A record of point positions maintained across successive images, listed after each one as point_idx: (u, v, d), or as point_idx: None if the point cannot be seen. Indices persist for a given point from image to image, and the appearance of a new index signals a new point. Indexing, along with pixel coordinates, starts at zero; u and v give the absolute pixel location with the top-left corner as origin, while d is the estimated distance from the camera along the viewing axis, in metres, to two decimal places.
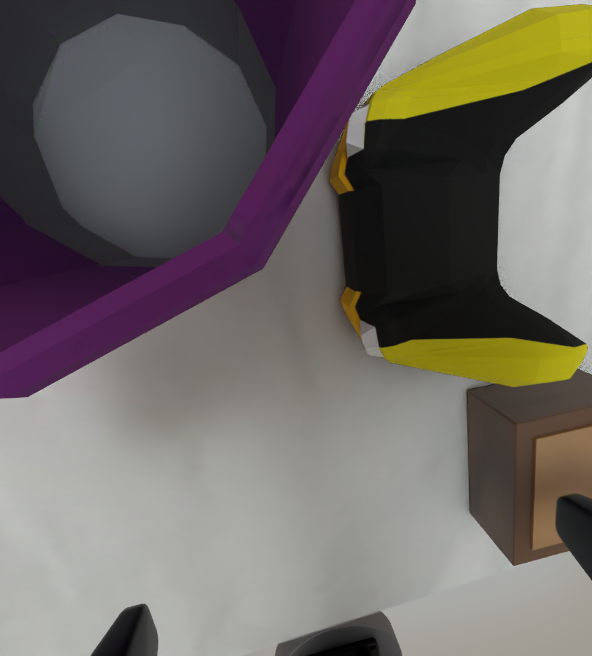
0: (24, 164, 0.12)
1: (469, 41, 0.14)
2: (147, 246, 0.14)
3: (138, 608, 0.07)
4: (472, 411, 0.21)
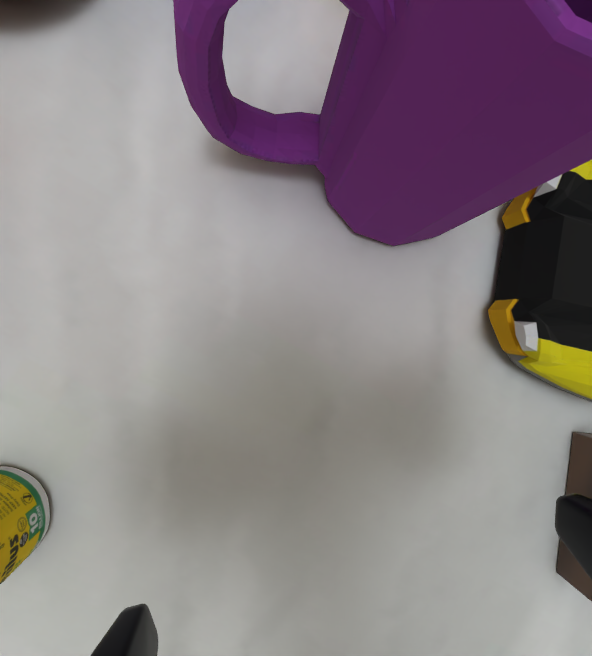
0: None
1: None
2: None
3: (138, 608, 0.07)
4: (578, 451, 0.22)
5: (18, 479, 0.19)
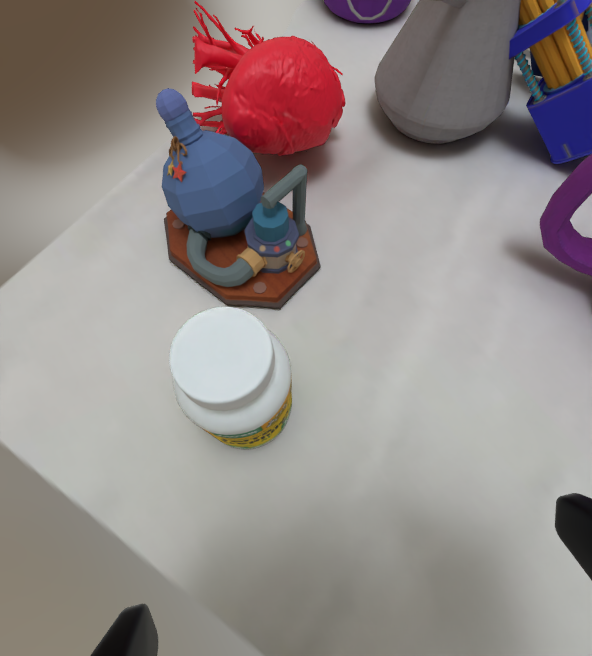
0: None
1: None
2: None
3: (138, 608, 0.07)
4: None
5: None
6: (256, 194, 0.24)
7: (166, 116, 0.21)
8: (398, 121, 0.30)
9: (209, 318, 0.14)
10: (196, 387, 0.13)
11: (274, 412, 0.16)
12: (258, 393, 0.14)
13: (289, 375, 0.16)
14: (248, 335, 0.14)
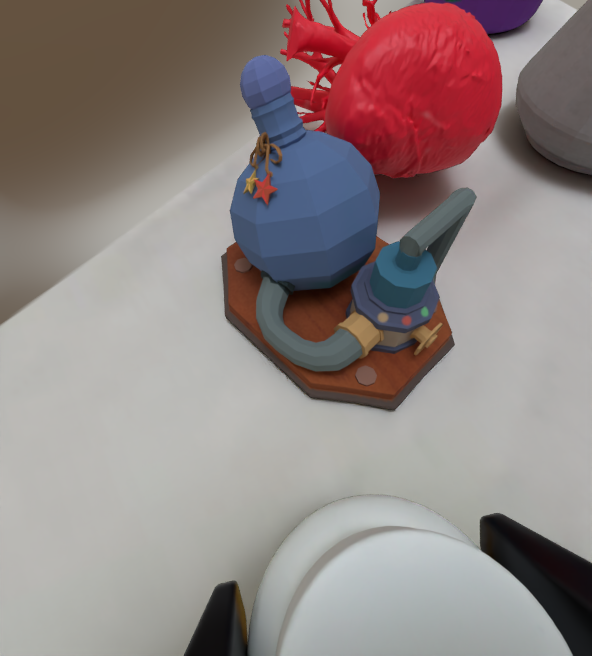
0: None
1: None
2: None
3: (231, 584, 0.07)
4: None
5: None
6: (376, 231, 0.15)
7: (256, 99, 0.13)
8: (555, 142, 0.22)
9: (384, 571, 0.05)
10: None
11: None
12: None
13: None
14: None
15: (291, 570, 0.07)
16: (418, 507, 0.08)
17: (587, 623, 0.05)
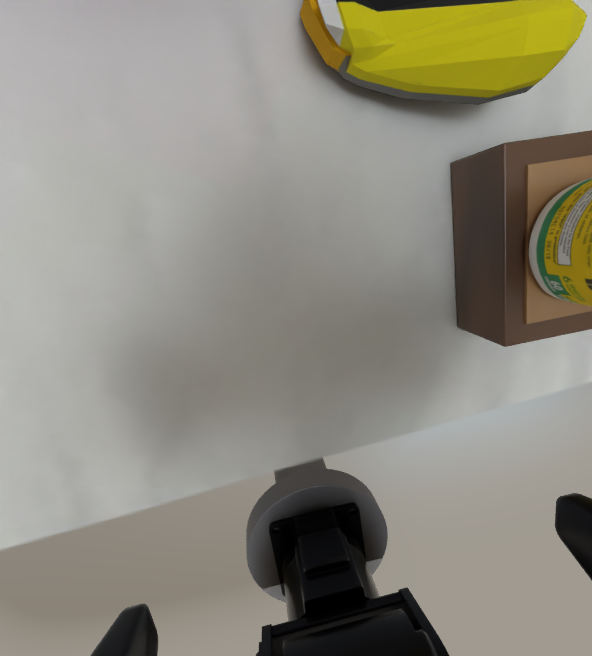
0: None
1: None
2: None
3: (138, 608, 0.07)
4: (457, 183, 0.19)
5: None
6: None
7: None
8: None
9: None
10: None
11: None
12: None
13: None
14: None
15: None
16: None
17: None
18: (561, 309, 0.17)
